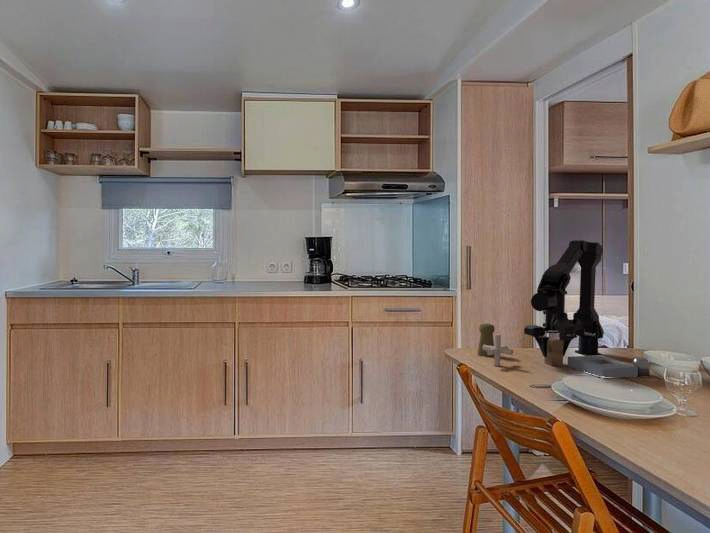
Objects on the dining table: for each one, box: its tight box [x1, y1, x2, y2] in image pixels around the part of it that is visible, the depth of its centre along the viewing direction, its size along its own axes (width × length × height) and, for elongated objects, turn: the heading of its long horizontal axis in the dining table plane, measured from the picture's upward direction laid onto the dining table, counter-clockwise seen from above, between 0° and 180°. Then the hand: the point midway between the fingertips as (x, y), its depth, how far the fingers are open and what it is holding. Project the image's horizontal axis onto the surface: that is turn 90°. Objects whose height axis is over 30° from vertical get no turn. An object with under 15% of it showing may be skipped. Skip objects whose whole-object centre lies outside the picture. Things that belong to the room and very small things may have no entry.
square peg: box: [544, 338, 564, 367], centre depth 165 cm, size 4×4×8 cm
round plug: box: [632, 356, 651, 377], centre depth 152 cm, size 4×4×5 cm
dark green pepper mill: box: [477, 323, 496, 358], centre depth 178 cm, size 6×6×11 cm
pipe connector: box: [482, 333, 514, 367], centre depth 163 cm, size 10×10×10 cm
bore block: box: [567, 354, 639, 378], centre depth 156 cm, size 16×12×3 cm
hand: (553, 356), depth 165 cm, fingers open, 6 cm apart
